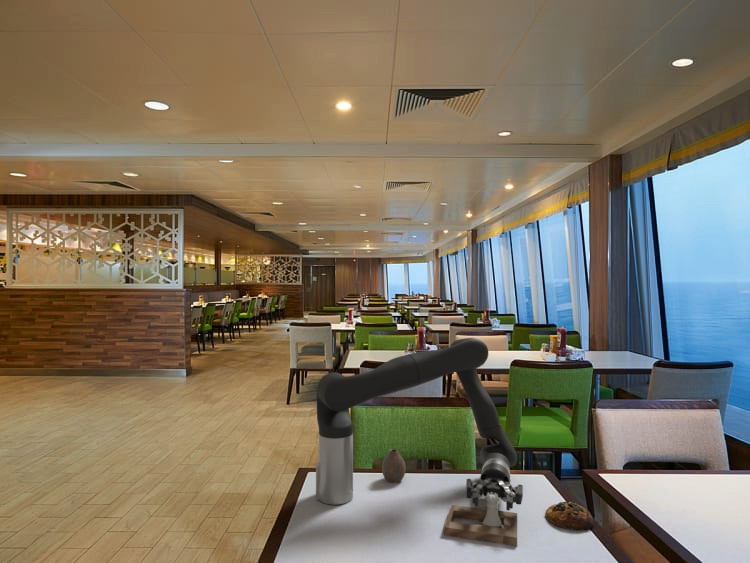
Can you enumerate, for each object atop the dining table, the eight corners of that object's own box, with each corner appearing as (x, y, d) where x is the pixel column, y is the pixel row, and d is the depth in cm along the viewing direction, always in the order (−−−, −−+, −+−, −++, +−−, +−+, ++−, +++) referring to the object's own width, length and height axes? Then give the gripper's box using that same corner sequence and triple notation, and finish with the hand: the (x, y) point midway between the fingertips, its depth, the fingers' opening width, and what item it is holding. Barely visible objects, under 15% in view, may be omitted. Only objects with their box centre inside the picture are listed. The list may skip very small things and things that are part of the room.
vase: (403, 486, 135) (403, 455, 135) (380, 484, 137) (380, 453, 137) (407, 476, 142) (406, 447, 142) (384, 475, 143) (384, 446, 144)
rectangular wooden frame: (444, 535, 108) (444, 527, 108) (451, 511, 119) (451, 504, 119) (517, 546, 103) (517, 537, 103) (517, 520, 115) (517, 513, 115)
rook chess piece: (491, 535, 108) (491, 500, 108) (478, 526, 112) (478, 492, 112) (506, 530, 110) (506, 496, 110) (493, 522, 114) (493, 489, 114)
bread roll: (585, 536, 107) (582, 513, 108) (538, 527, 115) (536, 505, 115) (601, 521, 115) (598, 499, 116) (556, 513, 123) (554, 493, 123)
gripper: (467, 459, 127) (460, 484, 111) (524, 465, 122) (524, 491, 106) (467, 488, 126) (460, 516, 110) (524, 494, 122) (525, 525, 106)
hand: (492, 504), depth 108 cm, fingers open, 6 cm apart
